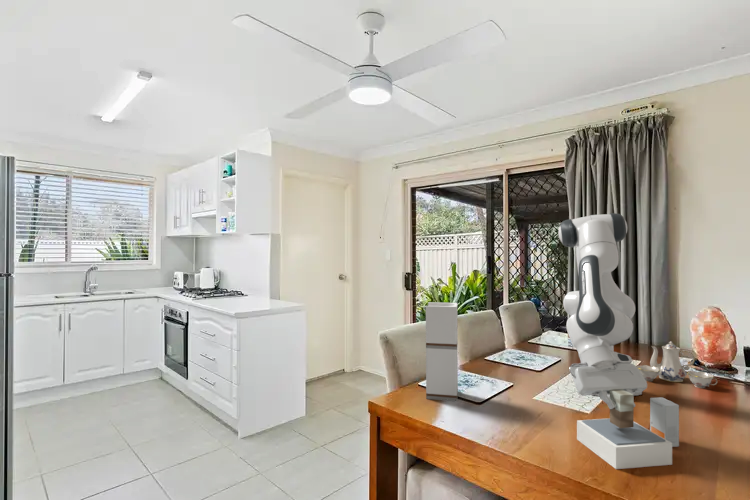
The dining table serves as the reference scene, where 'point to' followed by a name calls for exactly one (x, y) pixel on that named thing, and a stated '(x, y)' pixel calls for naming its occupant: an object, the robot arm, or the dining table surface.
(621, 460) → the block
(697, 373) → the chinaware
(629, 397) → the block
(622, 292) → the robot arm
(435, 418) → the dining table surface
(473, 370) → the dining table surface
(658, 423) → the skincare box
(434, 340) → the banded white tower
